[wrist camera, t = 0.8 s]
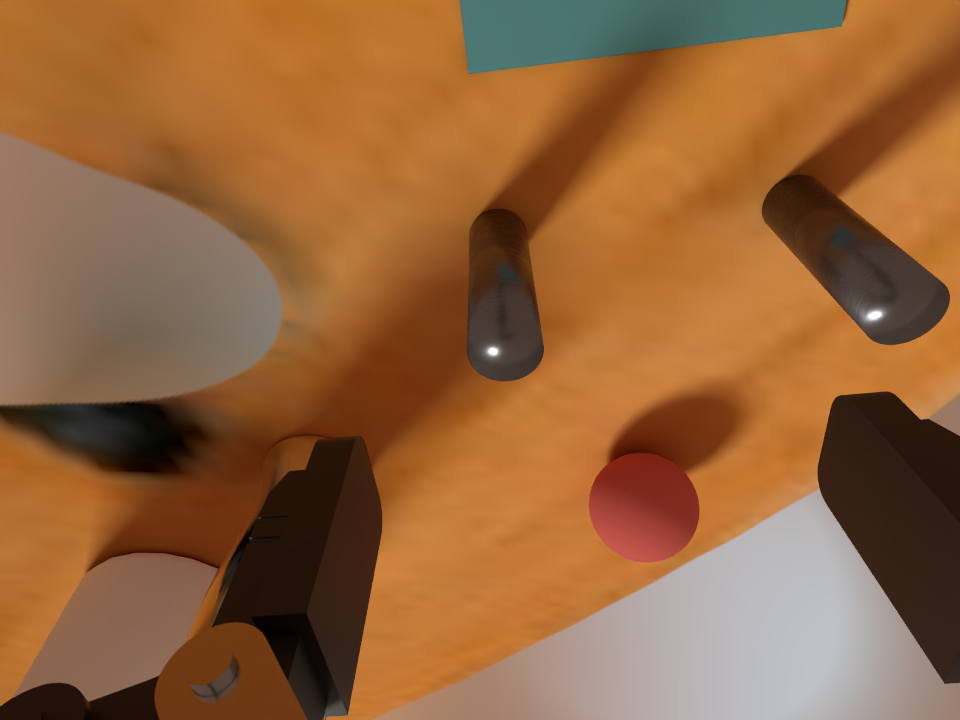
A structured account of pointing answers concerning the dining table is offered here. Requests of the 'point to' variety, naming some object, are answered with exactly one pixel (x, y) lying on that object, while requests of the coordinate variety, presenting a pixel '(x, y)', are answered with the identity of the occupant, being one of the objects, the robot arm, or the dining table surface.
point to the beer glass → (251, 524)
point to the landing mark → (623, 26)
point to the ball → (644, 507)
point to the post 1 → (502, 299)
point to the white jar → (121, 624)
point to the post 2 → (855, 262)
